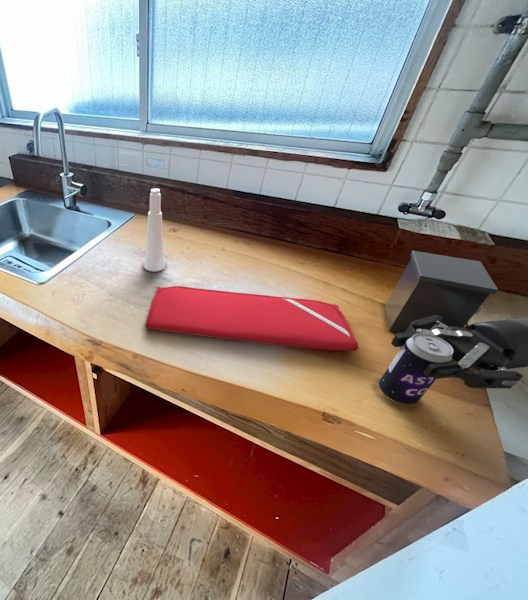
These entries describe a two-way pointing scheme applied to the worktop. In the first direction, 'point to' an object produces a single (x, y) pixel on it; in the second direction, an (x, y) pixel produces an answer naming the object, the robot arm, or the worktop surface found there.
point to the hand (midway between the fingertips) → (410, 355)
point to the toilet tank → (438, 291)
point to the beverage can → (414, 368)
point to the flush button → (478, 309)
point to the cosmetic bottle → (154, 234)
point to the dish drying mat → (251, 318)
